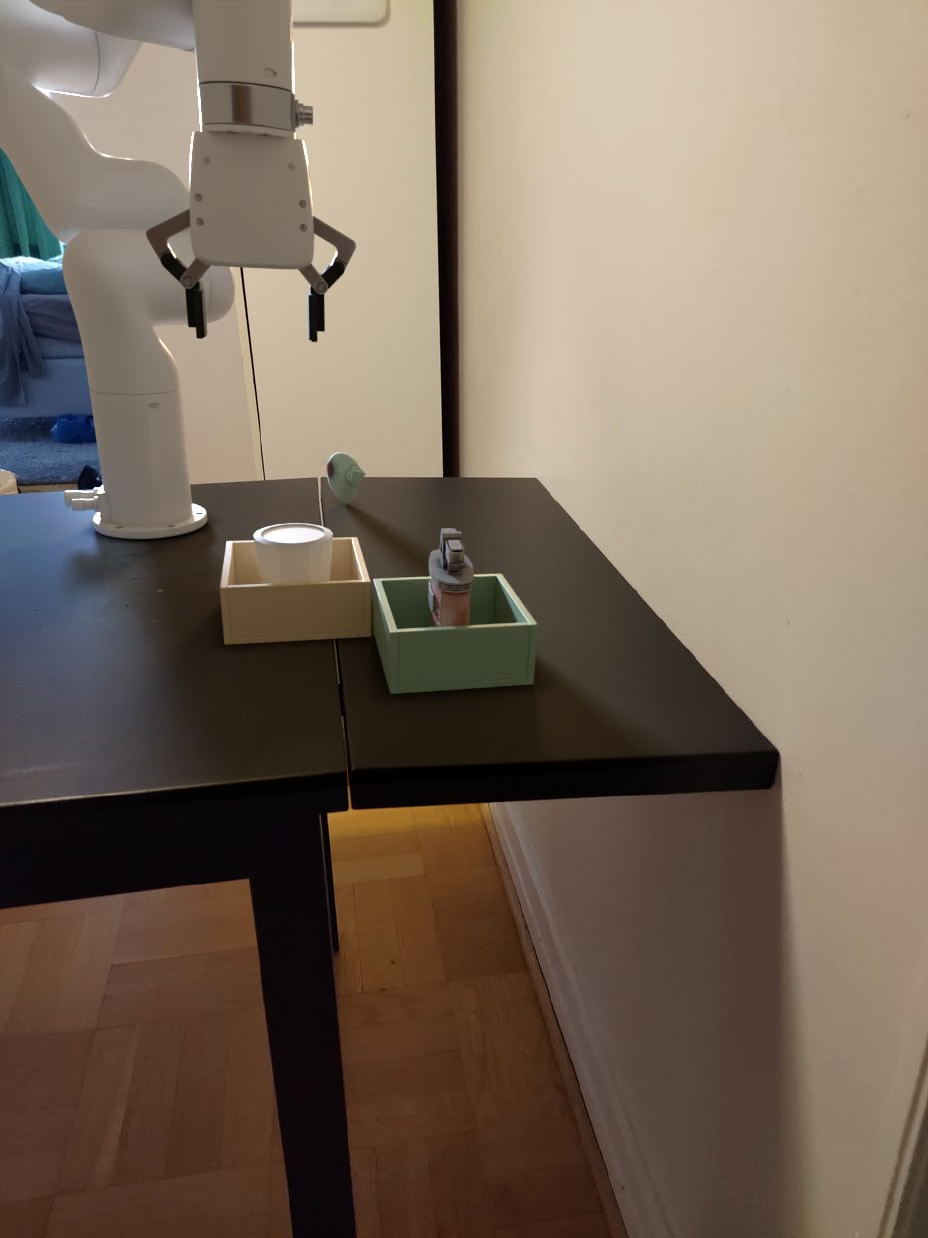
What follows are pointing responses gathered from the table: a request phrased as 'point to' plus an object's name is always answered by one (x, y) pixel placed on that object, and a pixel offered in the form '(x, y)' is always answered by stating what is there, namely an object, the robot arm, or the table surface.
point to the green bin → (453, 638)
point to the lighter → (450, 581)
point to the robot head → (344, 476)
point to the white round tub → (293, 553)
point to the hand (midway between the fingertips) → (258, 338)
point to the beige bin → (294, 599)
